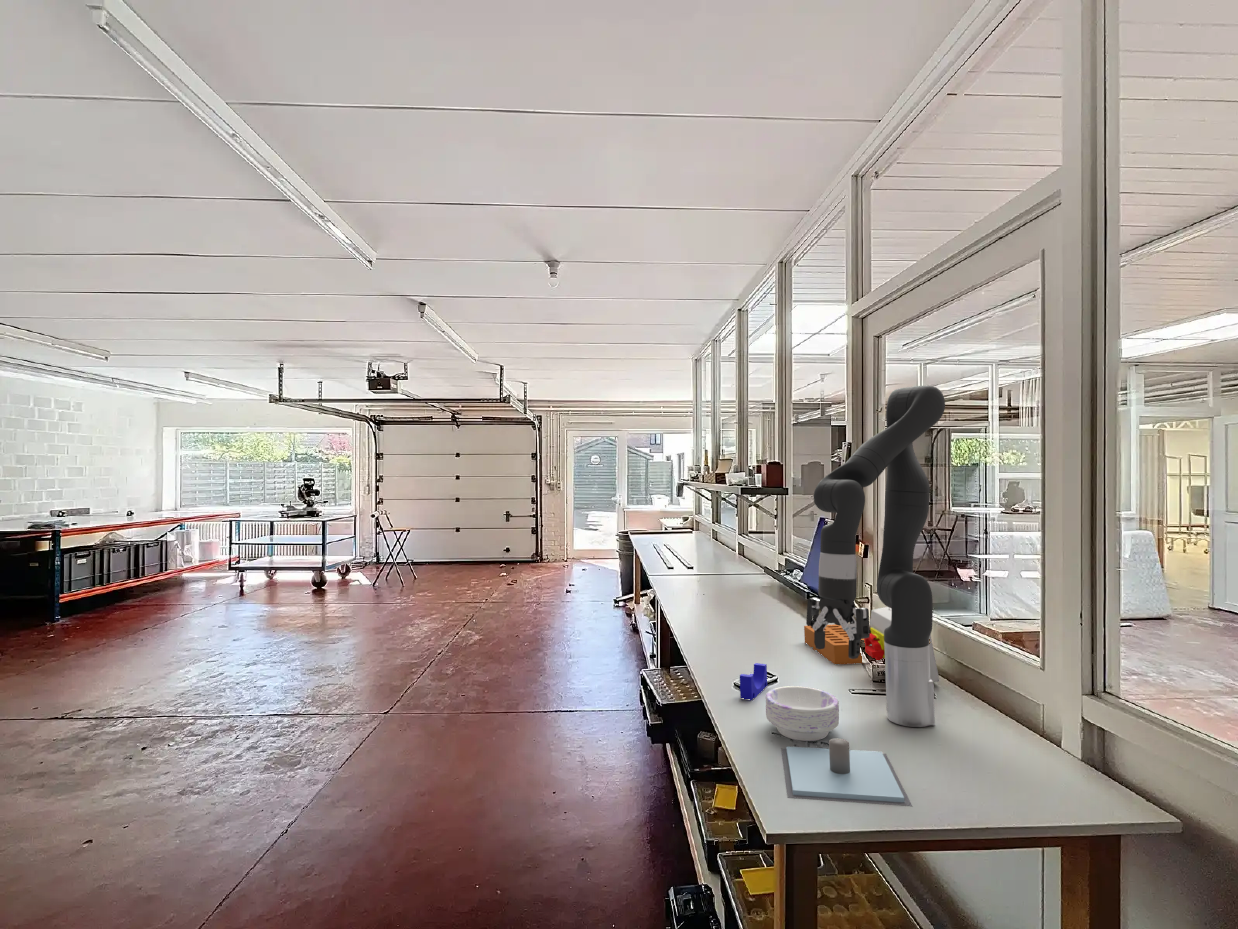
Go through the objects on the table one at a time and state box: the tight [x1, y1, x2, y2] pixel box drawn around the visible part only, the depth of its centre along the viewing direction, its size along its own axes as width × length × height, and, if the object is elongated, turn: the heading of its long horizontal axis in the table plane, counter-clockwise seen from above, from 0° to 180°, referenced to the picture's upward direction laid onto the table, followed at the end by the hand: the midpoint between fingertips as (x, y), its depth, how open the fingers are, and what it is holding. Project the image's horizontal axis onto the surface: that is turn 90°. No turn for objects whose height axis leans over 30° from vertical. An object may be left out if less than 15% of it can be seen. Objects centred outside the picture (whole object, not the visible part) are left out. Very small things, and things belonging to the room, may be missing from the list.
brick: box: [803, 623, 864, 665], centre depth 197 cm, size 25×12×6 cm, turn 4°
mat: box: [780, 747, 913, 807], centre depth 116 cm, size 20×20×1 cm
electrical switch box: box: [864, 606, 940, 683], centre depth 171 cm, size 15×15×20 cm
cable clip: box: [739, 662, 768, 701], centre depth 163 cm, size 12×4×6 cm, turn 149°
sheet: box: [785, 737, 905, 803], centre depth 116 cm, size 18×18×6 cm
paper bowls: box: [765, 685, 840, 742], centre depth 136 cm, size 15×15×8 cm
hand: (836, 653), depth 131 cm, fingers open, 8 cm apart
